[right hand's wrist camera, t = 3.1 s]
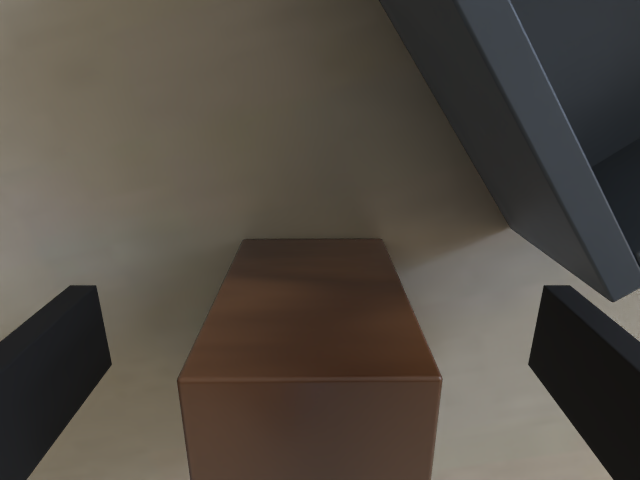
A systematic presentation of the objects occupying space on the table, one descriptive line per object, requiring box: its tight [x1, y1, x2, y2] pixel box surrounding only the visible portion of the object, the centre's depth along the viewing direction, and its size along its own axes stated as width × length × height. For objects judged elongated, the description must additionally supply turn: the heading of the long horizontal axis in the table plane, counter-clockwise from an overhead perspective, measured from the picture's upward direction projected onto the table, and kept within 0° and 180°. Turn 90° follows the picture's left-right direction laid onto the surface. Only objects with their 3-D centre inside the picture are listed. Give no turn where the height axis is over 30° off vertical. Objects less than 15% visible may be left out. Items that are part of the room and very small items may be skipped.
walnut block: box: [177, 239, 442, 480], centre depth 11 cm, size 4×4×7 cm
